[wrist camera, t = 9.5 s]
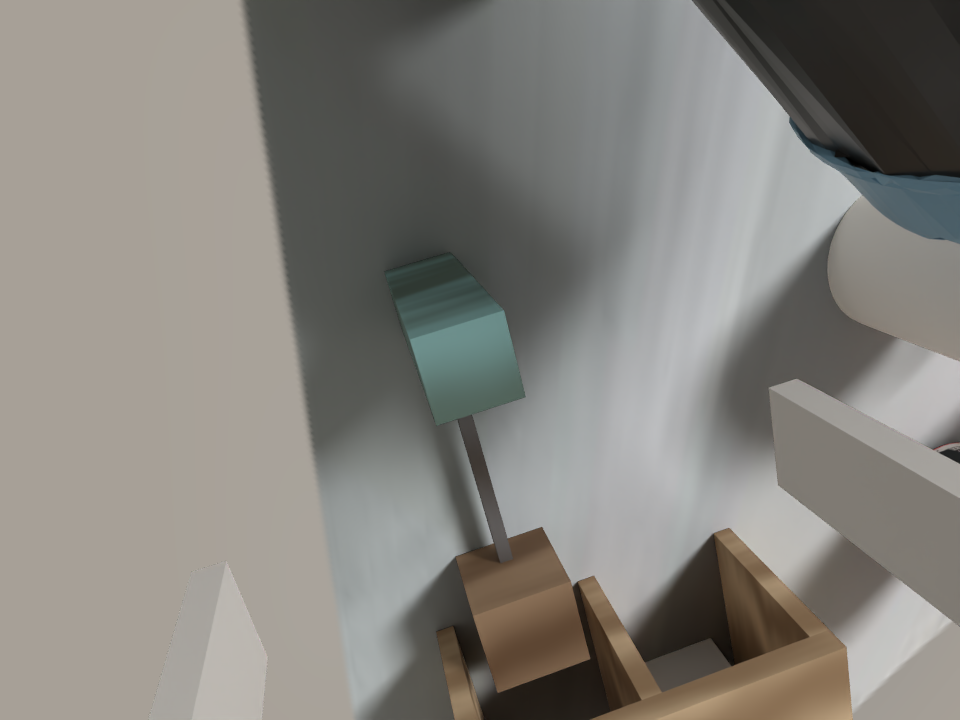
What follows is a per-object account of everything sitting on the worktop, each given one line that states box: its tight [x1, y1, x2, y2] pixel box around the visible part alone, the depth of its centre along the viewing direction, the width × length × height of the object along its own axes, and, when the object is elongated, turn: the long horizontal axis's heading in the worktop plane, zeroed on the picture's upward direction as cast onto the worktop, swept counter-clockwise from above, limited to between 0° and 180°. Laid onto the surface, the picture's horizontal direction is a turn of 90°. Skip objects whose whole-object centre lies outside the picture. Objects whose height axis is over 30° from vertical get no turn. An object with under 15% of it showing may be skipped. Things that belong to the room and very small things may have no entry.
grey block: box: [645, 638, 731, 692], centre depth 43 cm, size 5×5×5 cm
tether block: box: [385, 252, 590, 693], centre depth 32 cm, size 21×5×11 cm, turn 15°
